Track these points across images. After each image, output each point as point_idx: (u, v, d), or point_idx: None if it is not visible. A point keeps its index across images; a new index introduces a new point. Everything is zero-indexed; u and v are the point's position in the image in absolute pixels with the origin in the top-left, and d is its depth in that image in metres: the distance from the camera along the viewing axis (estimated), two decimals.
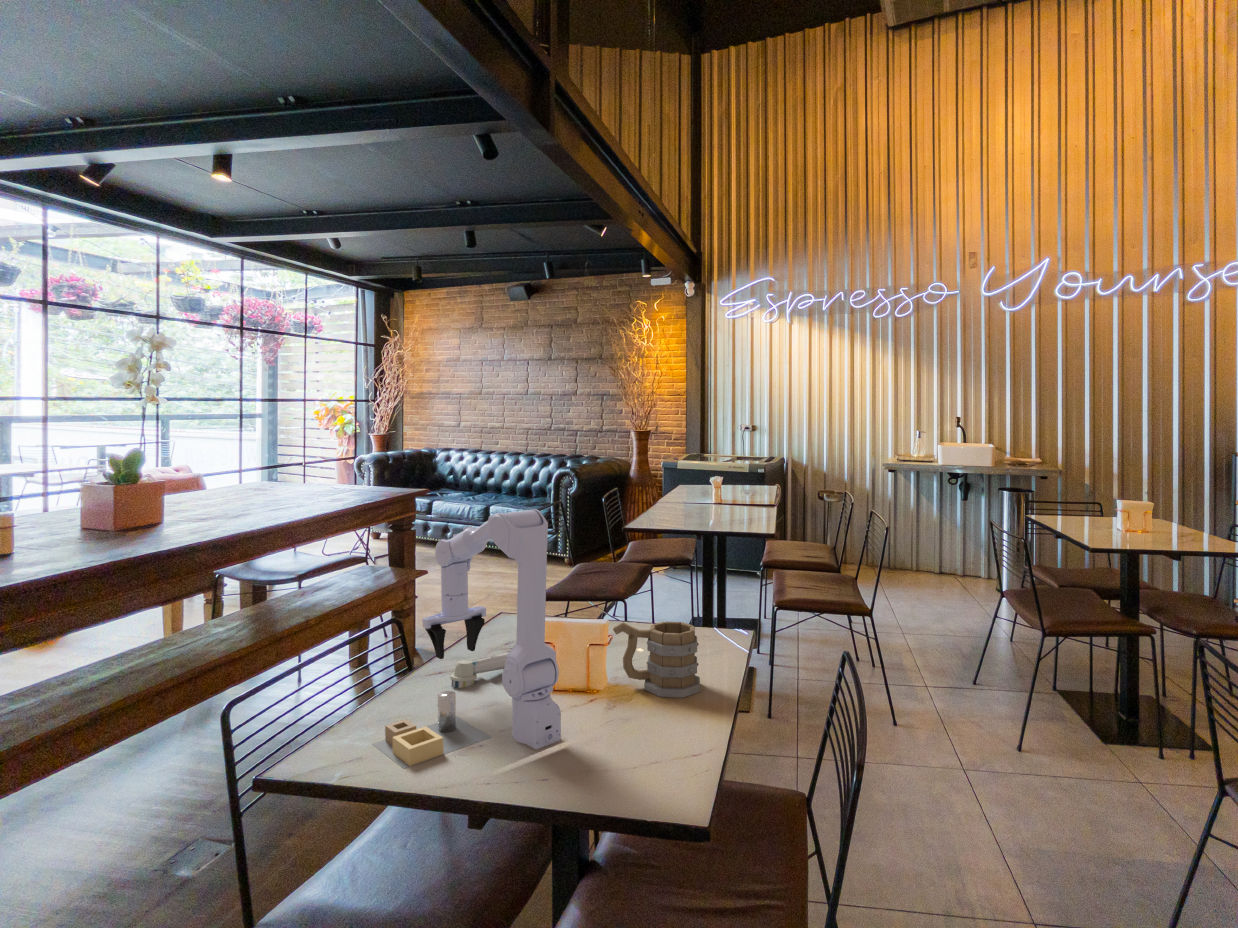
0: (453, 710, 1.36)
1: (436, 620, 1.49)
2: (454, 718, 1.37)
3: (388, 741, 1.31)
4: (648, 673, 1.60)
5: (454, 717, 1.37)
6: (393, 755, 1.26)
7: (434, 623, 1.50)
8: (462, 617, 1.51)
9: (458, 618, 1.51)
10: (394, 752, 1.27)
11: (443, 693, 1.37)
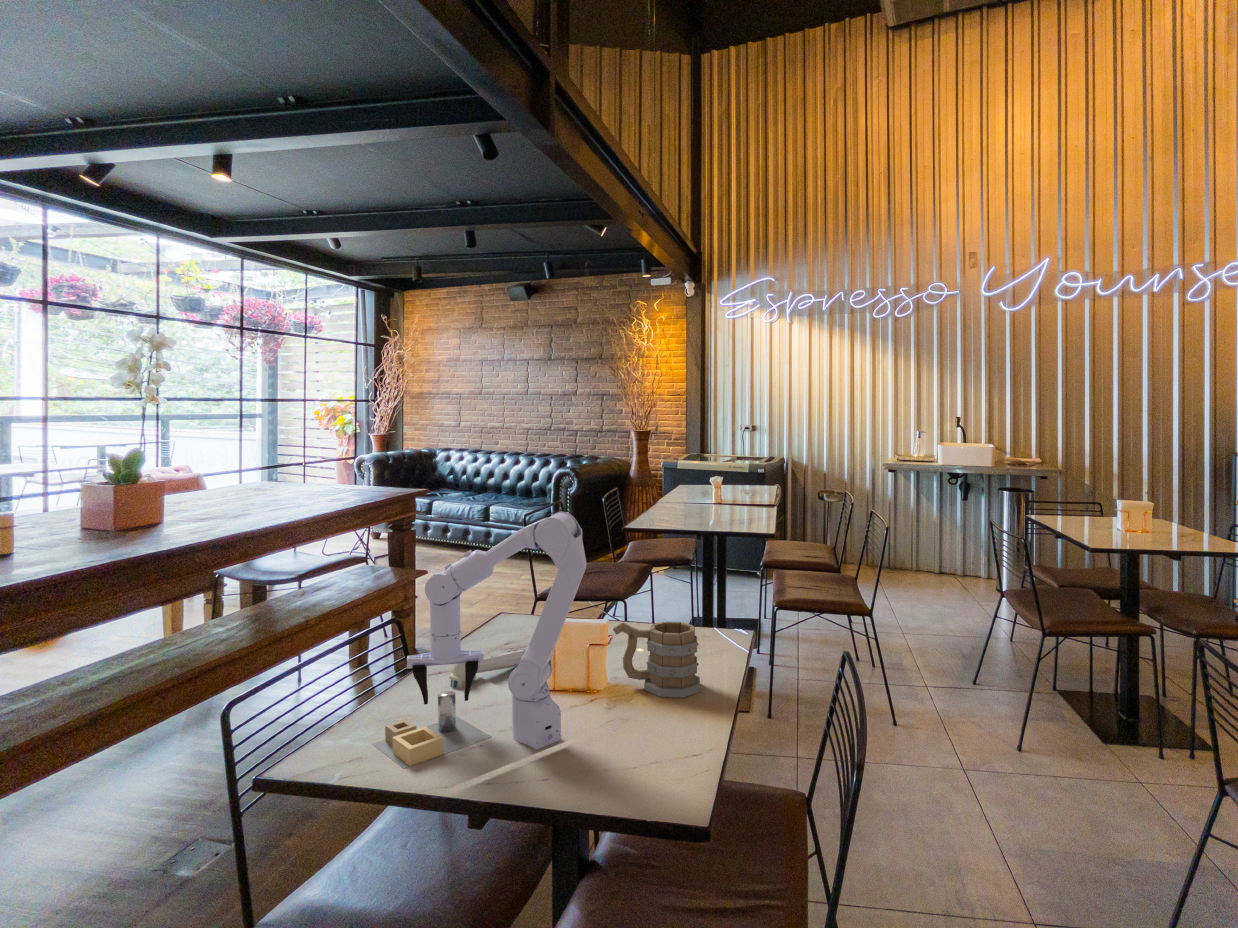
0: (453, 710, 1.36)
1: (417, 661, 1.34)
2: (454, 718, 1.37)
3: (388, 741, 1.31)
4: (648, 673, 1.60)
5: (454, 717, 1.37)
6: (393, 755, 1.26)
7: (418, 663, 1.35)
8: (446, 661, 1.34)
9: (441, 662, 1.33)
10: (394, 752, 1.27)
11: (443, 693, 1.37)
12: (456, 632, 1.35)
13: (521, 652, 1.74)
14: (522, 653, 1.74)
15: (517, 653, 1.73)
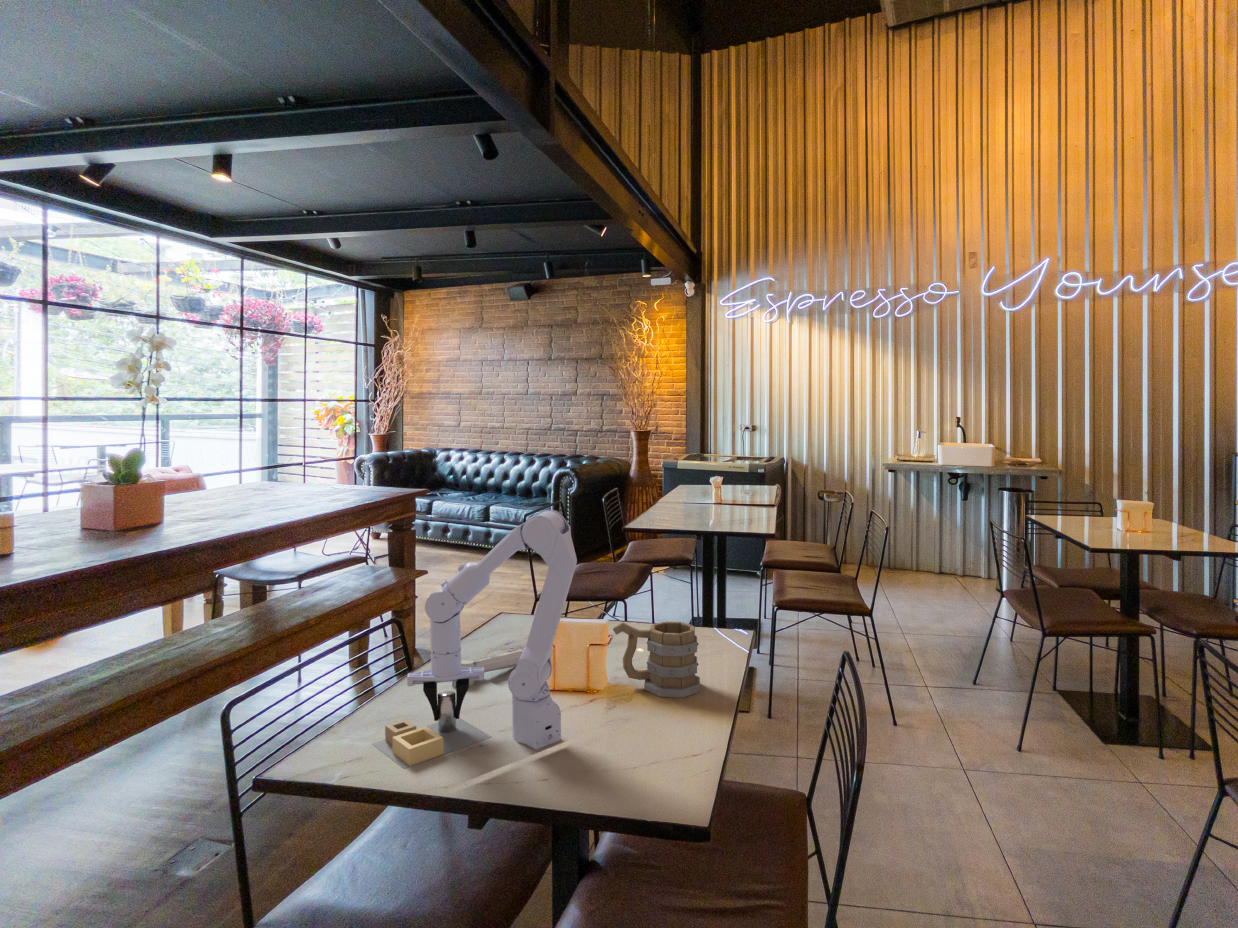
0: (453, 710, 1.36)
1: (417, 678, 1.34)
2: (454, 718, 1.37)
3: (388, 741, 1.31)
4: (648, 673, 1.60)
5: (454, 717, 1.37)
6: (393, 755, 1.26)
7: (419, 681, 1.35)
8: (446, 679, 1.34)
9: (441, 680, 1.34)
10: (394, 752, 1.27)
11: (443, 693, 1.37)
12: (456, 649, 1.35)
13: (521, 652, 1.74)
14: None
15: (517, 653, 1.73)
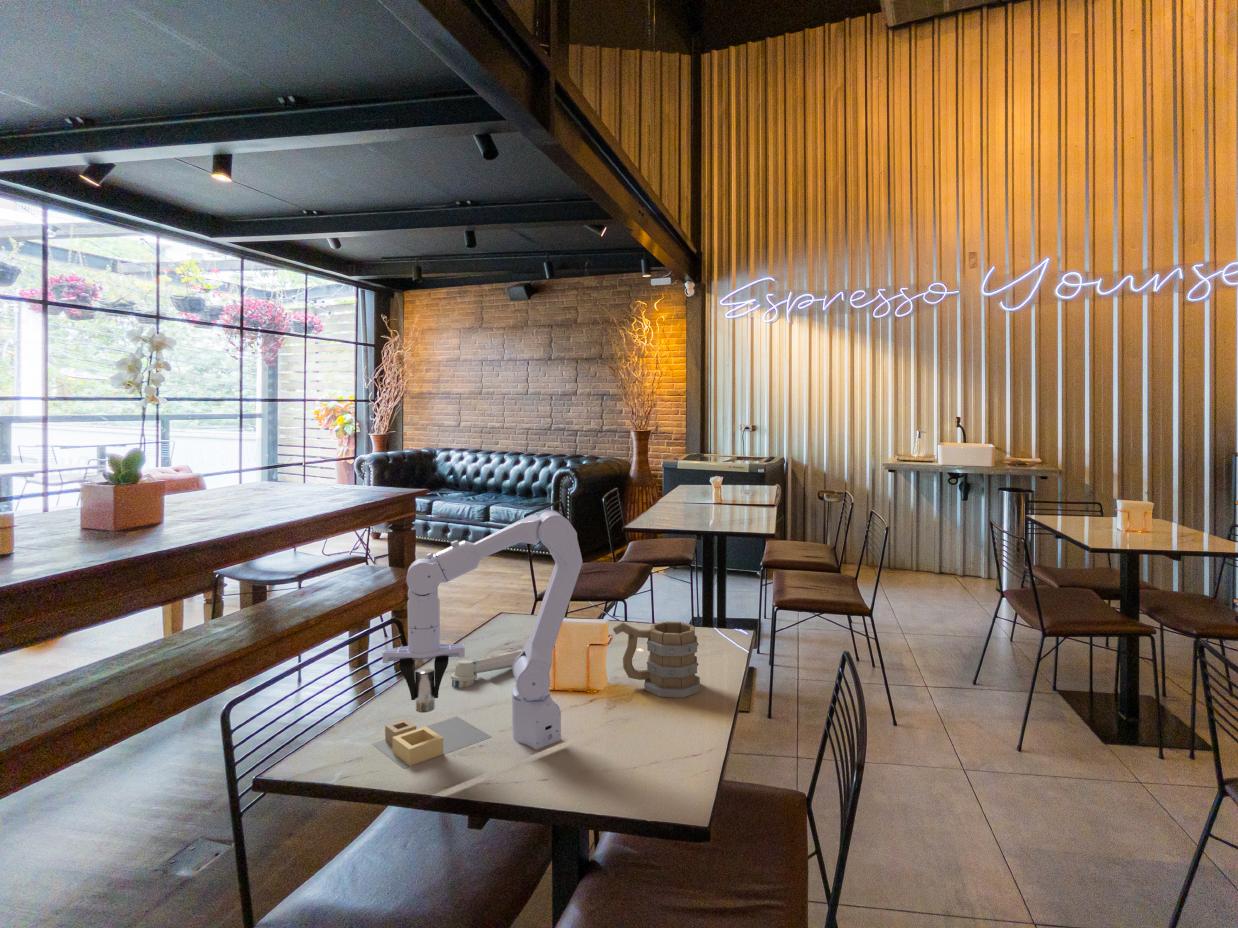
0: (431, 689, 1.29)
1: (393, 655, 1.26)
2: (432, 697, 1.29)
3: (388, 741, 1.31)
4: (648, 673, 1.60)
5: (432, 696, 1.29)
6: (393, 755, 1.26)
7: (395, 657, 1.27)
8: (423, 655, 1.26)
9: (418, 656, 1.26)
10: (394, 752, 1.27)
11: (421, 671, 1.30)
12: (438, 623, 1.28)
13: None
14: None
15: (517, 653, 1.73)
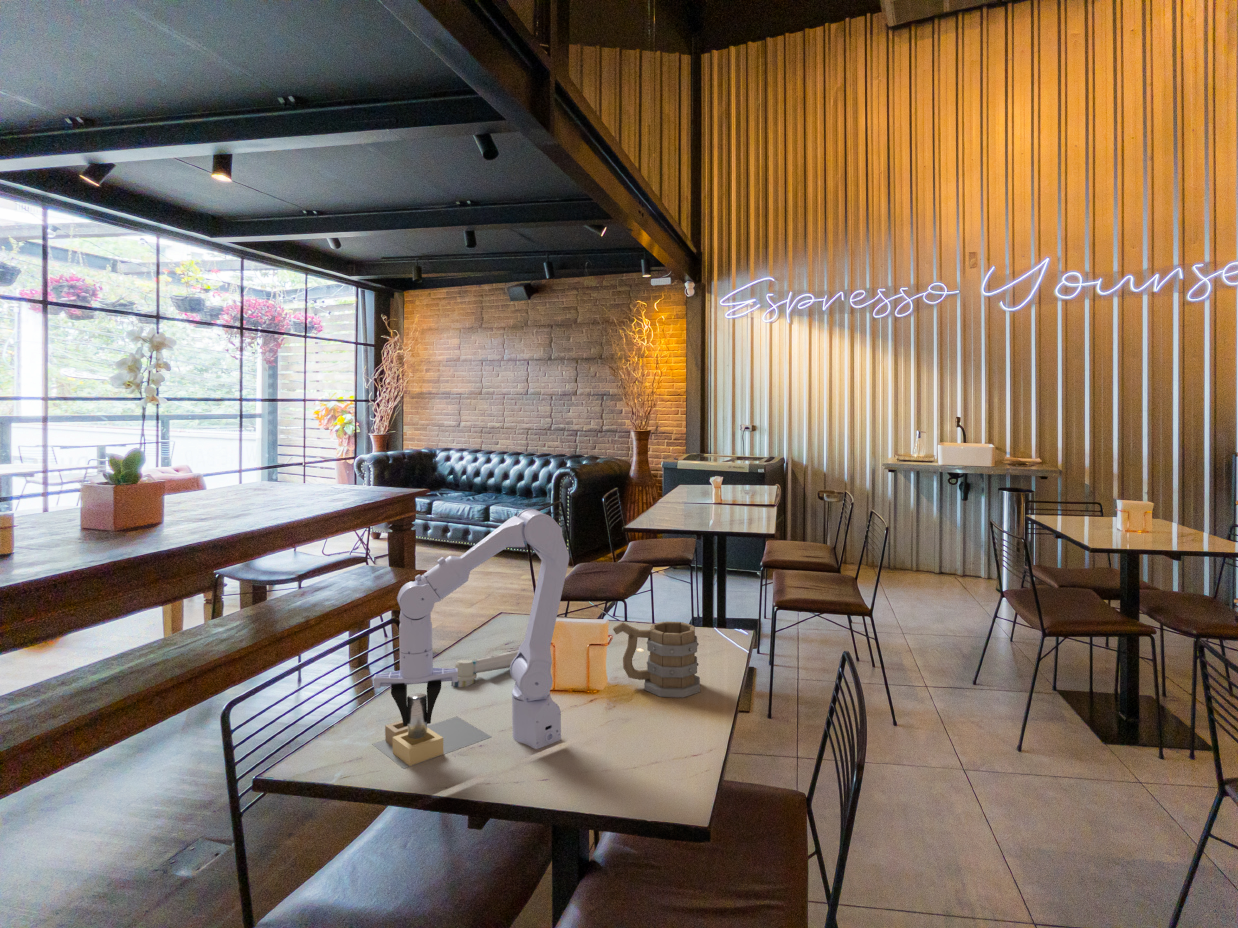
0: (423, 715, 1.26)
1: (385, 680, 1.24)
2: (425, 723, 1.26)
3: (388, 741, 1.31)
4: (648, 673, 1.60)
5: (425, 722, 1.26)
6: (393, 755, 1.26)
7: (386, 683, 1.25)
8: (416, 681, 1.23)
9: (410, 681, 1.23)
10: (394, 752, 1.27)
11: (413, 695, 1.27)
12: (431, 646, 1.26)
13: None
14: None
15: None
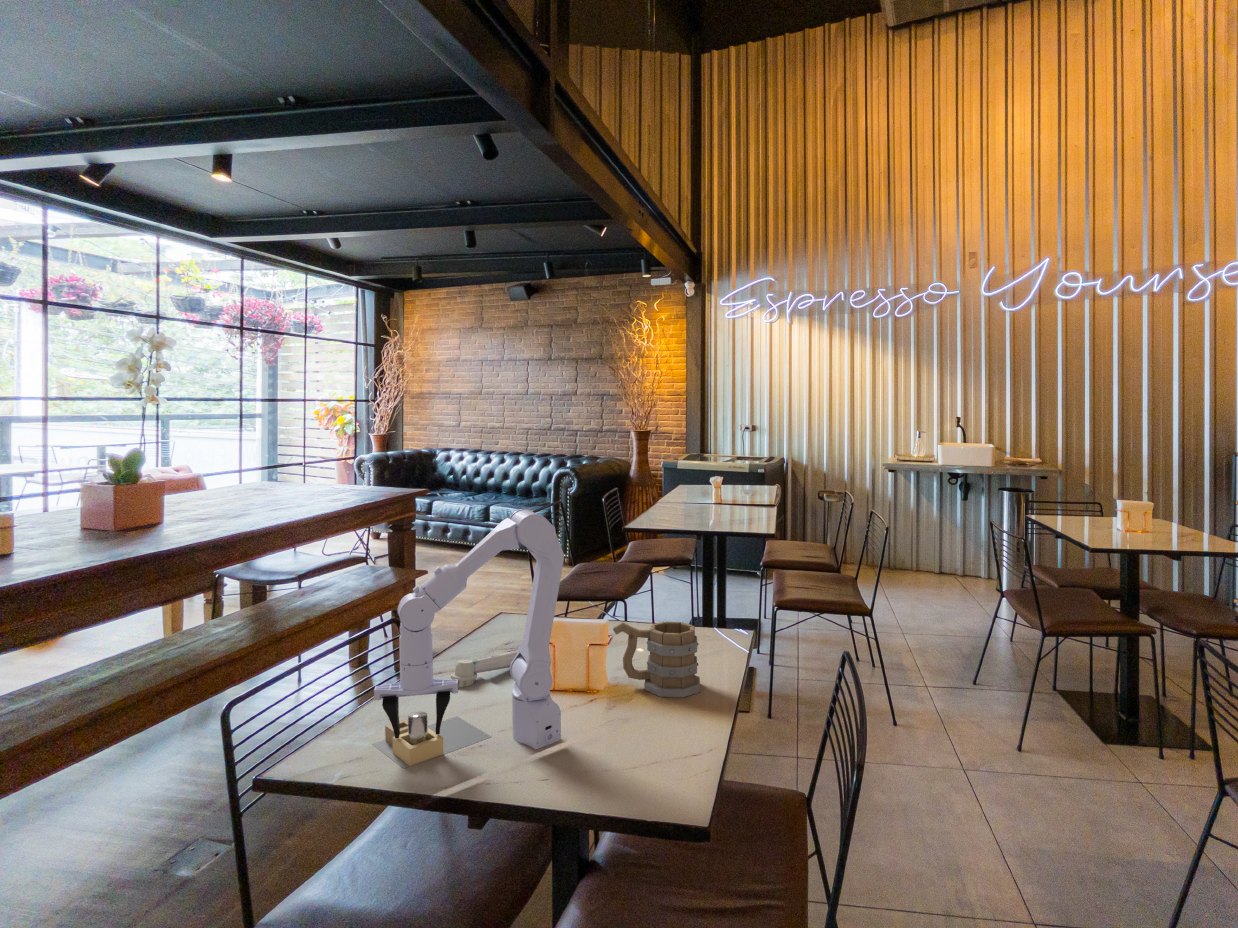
0: (424, 733, 1.26)
1: (385, 692, 1.24)
2: None
3: (388, 741, 1.31)
4: (648, 673, 1.60)
5: (425, 740, 1.27)
6: (393, 755, 1.26)
7: (387, 694, 1.25)
8: (416, 693, 1.23)
9: (411, 693, 1.23)
10: (394, 752, 1.27)
11: (414, 714, 1.27)
12: (431, 658, 1.26)
13: None
14: None
15: None
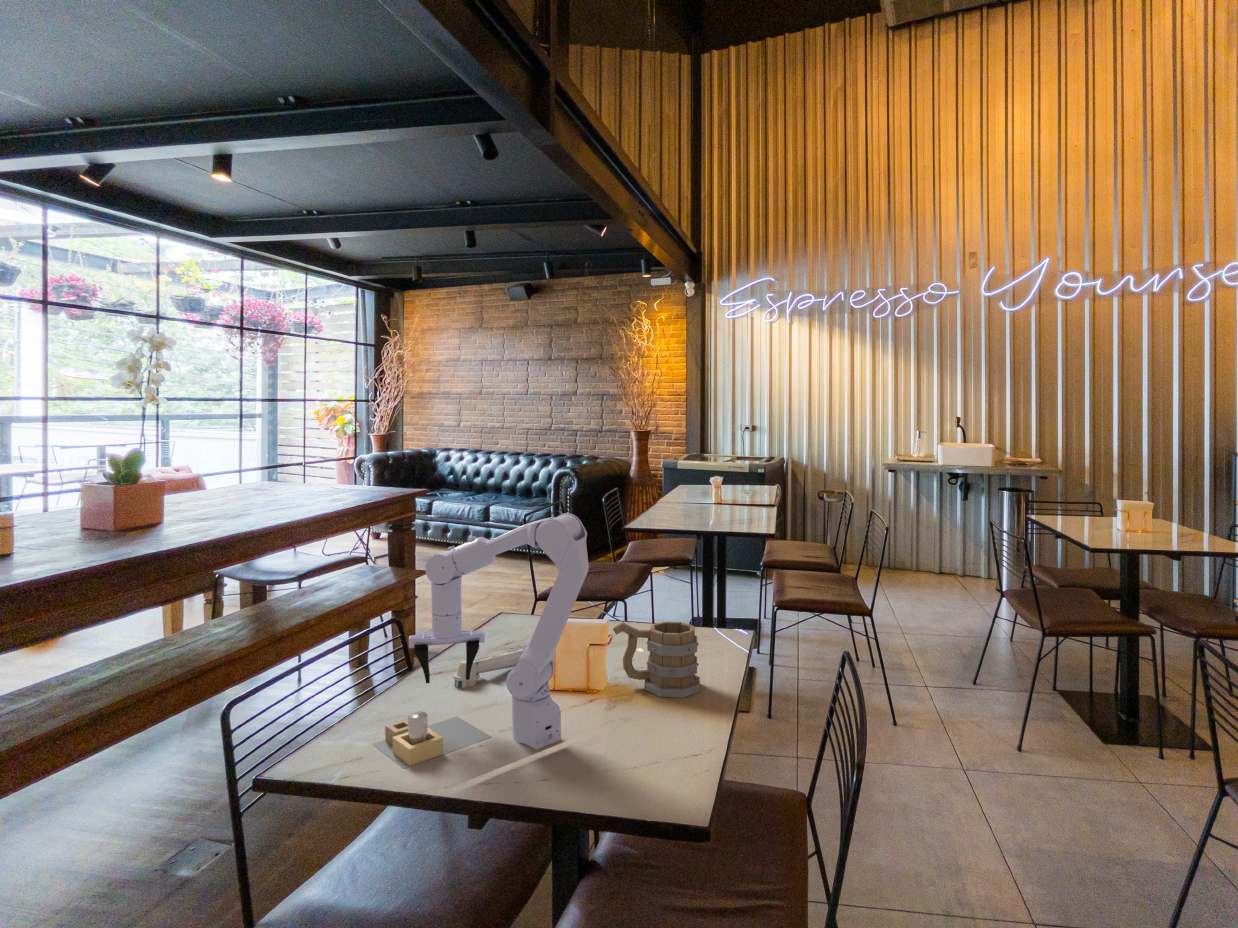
0: (424, 733, 1.26)
1: (419, 640, 1.36)
2: None
3: (388, 741, 1.31)
4: (648, 673, 1.60)
5: (425, 740, 1.27)
6: (393, 755, 1.26)
7: (420, 643, 1.37)
8: (447, 641, 1.35)
9: (442, 641, 1.35)
10: (394, 752, 1.27)
11: (414, 714, 1.27)
12: (456, 612, 1.36)
13: (522, 651, 1.75)
14: (523, 652, 1.75)
15: (518, 653, 1.74)
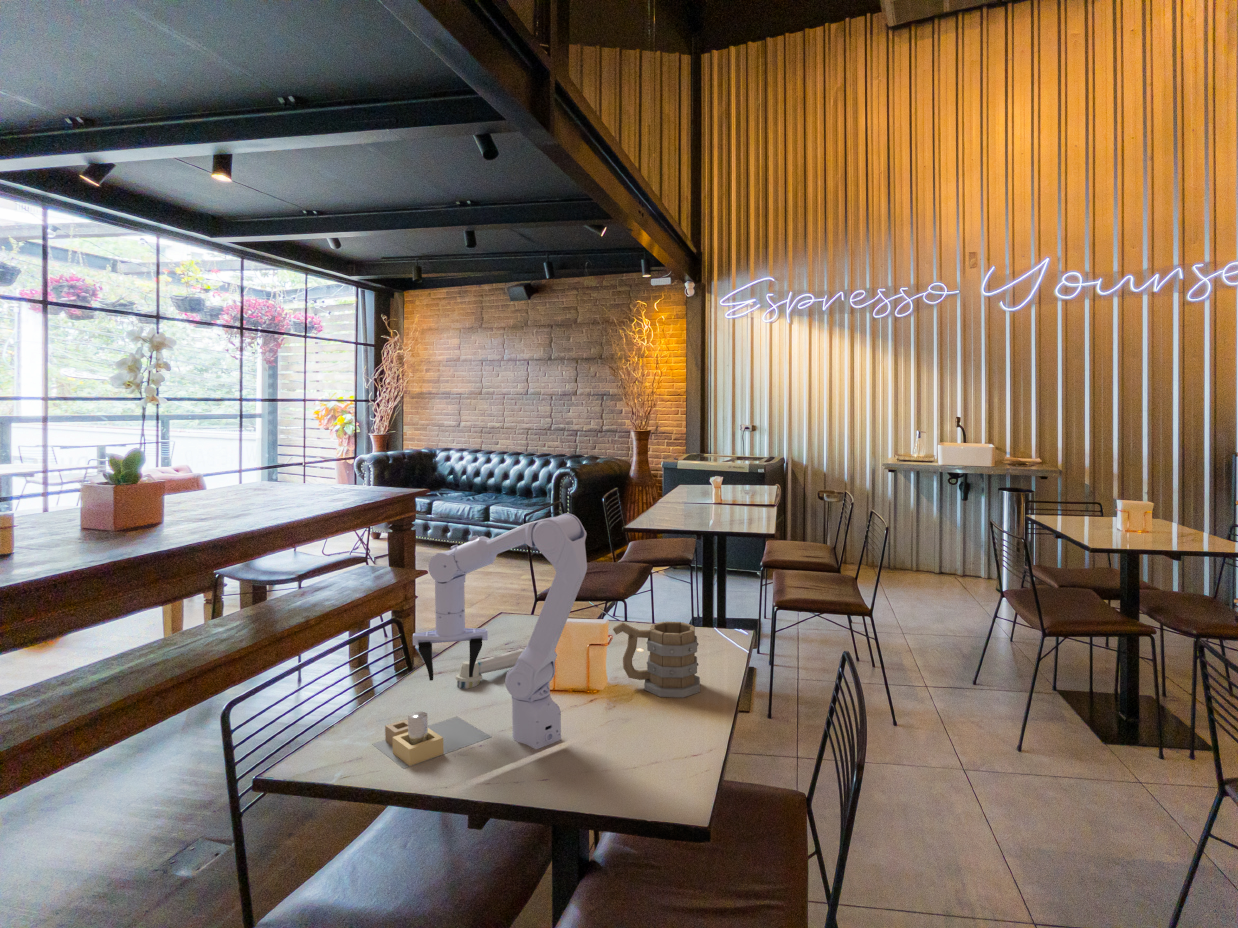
0: (424, 733, 1.26)
1: (422, 638, 1.37)
2: None
3: (388, 741, 1.31)
4: (648, 673, 1.60)
5: (425, 740, 1.27)
6: (393, 755, 1.26)
7: (424, 640, 1.38)
8: (450, 638, 1.37)
9: (446, 639, 1.37)
10: (394, 752, 1.27)
11: (414, 714, 1.27)
12: (458, 610, 1.38)
13: (522, 651, 1.75)
14: None
15: (519, 652, 1.74)
